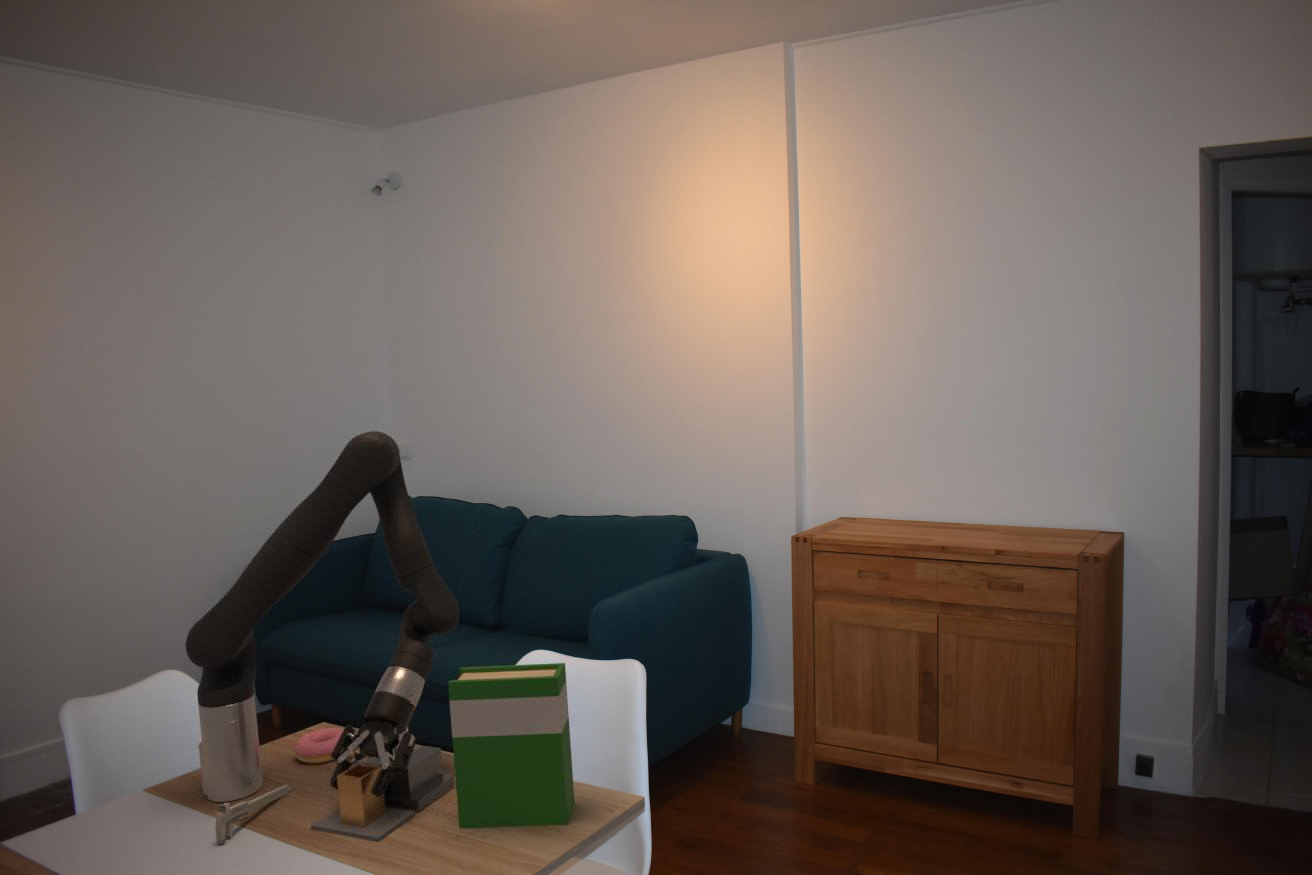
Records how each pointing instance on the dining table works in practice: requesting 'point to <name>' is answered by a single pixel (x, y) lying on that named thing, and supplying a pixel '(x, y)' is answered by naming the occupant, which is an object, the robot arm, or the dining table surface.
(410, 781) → the grey slotted block
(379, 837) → the slate pad
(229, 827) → the caliper
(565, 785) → the hardback book
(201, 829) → the dining table surface
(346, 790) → the copper collar
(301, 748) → the doughnut
